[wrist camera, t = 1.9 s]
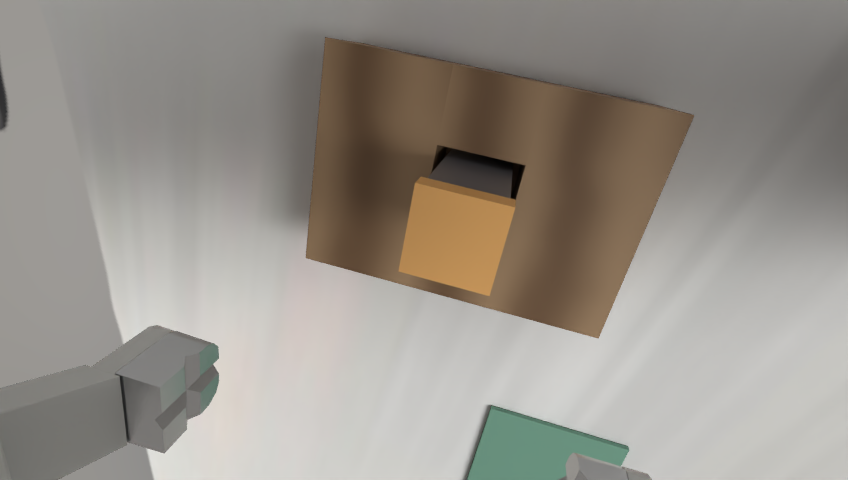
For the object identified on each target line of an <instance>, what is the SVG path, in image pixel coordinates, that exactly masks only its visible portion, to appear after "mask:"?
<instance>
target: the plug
mask: <svg viewBox="0 0 848 480" xmlns="http://www.w3.org/2000/svg"><path fill="white" fill-rule="evenodd" d="M512 172H513V162H509V161H504V160H500V159H496V158H492V157H487V156H483V155H479V154H475V153H470V152H466V151H462V150H458V149H453V148H452V150H451V151H450V152H449V153H448V154H447V155H446V157H445V158H444V159H443V160H442V161H441V163H440V164H439V165H438V166H437V167H436V168H435V170H434V171H433V172H432V173H431V174H430V175H429V177H428V178H425V177H420V178H419V179H418V180H417V181H416V182H415V185H414V191H413V196H412V201H411V207H410V212H409V217H408V223H407V228H406V233H405V239H404V244H403V249H402V255H401V260H400V265H399V272H402V273H406V274H410V275H413V276H417V277H421V278H424V279H428V280H432V281H435V282H439V283H443V284H446V285H450V286H454V287H457V288H461V289H465V290H469V291H472V292H476V293H480V294H483V295H487V296H490V293H491V289H492V286H493V283H494V279H495V276H496V272H497V269H498V265H499V262H500V259H501V255H502V252H503V248H504V245H505V242H506V238H507V235H508V231H509V228H510V224H511V221H512V218H513V214H514V211H515V205H516V200H515V199H511V185H512Z"/></svg>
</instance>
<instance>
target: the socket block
mask: <svg viewBox="0 0 848 480" xmlns="http://www.w3.org/2000/svg"><path fill="white" fill-rule="evenodd" d="M693 117H694V115H691V114H688V113H684V112H680V111H677V110H673V109H669V108H666V107H662V106H658V105H653V104H648V103H644V102H639V101H634V100H629V99H625V98H620V97H615V96H610V95H606V94H601V93H596V92H591V91H587V90H582V89H577V88H572V87H568V86H563V85H558V84H553V83H549V82H544V81H539V80H534V79H530V78H525V77H520V76H515V75H511V74H506V73H501V72H496V71H492V70H487V69H482V68H477V67H473V66H468V65H463V64H458V63H454V62H449V61H444V60H439V59H435V58H430V57H425V56H420V55H416V54H411V53H406V52H401V51H397V50H392V49H387V48H383V47H378V46H373V45H368V44H364V43H358V42H352V41H345V40H339V39H332V38H326V37H325V46H324V57H323V69H322V80H321V91H320V102H319V114H318V125H317V136H316V148H315V159H314V170H313V181H312V193H311V204H310V215H309V227H308V238H307V249H306V258H308V259H312V260H315V261H319V262H322V263H326V264H330V265H333V266H337V267H341V268H344V269H348V270H352V271H355V272H359V273H362V274H366V275H370V276H373V277H377V278H381V279H384V280H388V281H392V282H395V283H399V284H402V285H406V286H410V287H413V288H417V289H421V290H424V291H428V292H431V293H435V294H439V295H442V296H446V297H450V298H453V299H457V300H461V301H464V302H468V303H471V304H475V305H479V306H482V307H486V308H490V309H493V310H497V311H501V312H504V313H508V314H511V315H515V316H519V317H522V318H526V319H530V320H533V321H537V322H540V323H544V324H548V325H551V326H555V327H559V328H562V329H566V330H570V331H573V332H577V333H580V334H584V335H588V336H591V337H595V338H599V336H600V333H601V331H602V329H603V326H604V324H605V322H606V319H607V317H608V315H609V313H610V310H611V308H612V306H613V303H614V301H615V299H616V296H617V294H618V292H619V289H620V287H621V285H622V282H623V280H624V278H625V275H626V273H627V271H628V268H629V266H630V264H631V261H632V259H633V257H634V254H635V252H636V250H637V247H638V245H639V243H640V241H641V238H642V236H643V234H644V231H645V229H646V227H647V224H648V222H649V220H650V217H651V215H652V213H653V210H654V208H655V206H656V203H657V201H658V199H659V196H660V194H661V192H662V189H663V187H664V185H665V182H666V180H667V178H668V175H669V173H670V171H671V169H672V166H673V164H674V162H675V159H676V157H677V155H678V152H679V150H680V148H681V145H682V143H683V141H684V138H685V136H686V134H687V131H688V129H689V127H690V124H691V122H692V120H693ZM452 148H453V149H458V150H462V151H466V152H470V153H475V154H479V155H483V156H487V157H492V158H496V159H500V160H504V161H509V162H513V172H512V185H511V199H515V200H516V205H515V211H514V214H513V218H512V221H511V224H510V228H509V231H508V235H507V238H506V242H505V245H504V248H503V252H502V255H501V259H500V262H499V265H498V269H497V272H496V276H495V279H494V283H493V286H492V289H491V293H490V296H487V295H483V294H480V293H476V292H472V291H469V290H465V289H461V288H457V287H454V286H450V285H446V284H443V283H439V282H435V281H432V280H428V279H424V278H421V277H417V276H413V275H410V274H406V273H402V272H399V265H400V260H401V255H402V249H403V244H404V239H405V233H406V228H407V223H408V217H409V212H410V207H411V201H412V196H413V191H414V185H415V182H416V181H417V180H418V179H419V178H420V177H425V178H428V177H429V175H430V174H431V173H432V172H433V171H434V170H435V168H436V167H437V166H438V165H439V164H440V163H441V161H442V160H443V159H444V158H445V157H446V155H447V154H448V153H449V152H450V151H451V150H452Z"/></svg>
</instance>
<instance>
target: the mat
mask: <svg viewBox="0 0 848 480" xmlns="http://www.w3.org/2000/svg"><path fill="white" fill-rule="evenodd" d="M573 452H574V453H577V454H581V455H584V456H587V457H591V458H594V459H598V460H601V461H604V462H608V463H611V464H615V465H618V466H620V467H621V465H622V463H623V461H624V459H625V457H626V455H627V453H628V452H629V448H628V446H625V445H621V444H618V443H615V442H611V441H608V440H605V439H601V438H598V437H595V436H591V435H588V434H585V433H581V432H578V431H575V430H571V429H568V428H565V427H562V426H558V425H555V424H552V423H548V422H545V421H542V420H538V419H535V418H532V417H528V416H525V415H522V414H518V413H515V412H512V411H508V410H505V409H502V408H498V407H495V406H492V405H491V408H490V411H489V414H488V417H487V420H486V423H485V426H484V429H483V432H482V435H481V438H480V441H479V444H478V447H477V450H476V453H475V456H474V459H473V462H472V465H471V468H470V471H469V474H468V477H467V480H559V479H561V478H563V477H565V476H567V475H566V467H565V464H566V462H567V460H568V458H569V456H570V455H571V454H572V453H573Z"/></svg>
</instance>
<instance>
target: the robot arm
mask: <svg viewBox="0 0 848 480" xmlns="http://www.w3.org/2000/svg"><path fill="white" fill-rule="evenodd" d="M218 359H219V352H218V346H217V345H215V344H214V343H211V342H208V341H205V340H202V339H199V338H196V337H193V336H190V335H187V334H184V333H181V332H178V331H173V330H170V329H167V328H164V327H161V326H158V325H155V326H150V327H148V328H147V329H145V330H144V331H142V332H141V333H139V334H138V335H137V336H135V337H134V338H132V339H131V340H129V341H128V342H126V343H125V344H123V345H122V346H121V347H119V348H118V349H116V350H115V351H114V352H112V353H111V354H109V355H108V356H106V357H105V358H103V359H102V360H100V361H99V362H97V363H96V364H95V365H93V366H92V367H90V366H86V365H83V366H79V367H76V368H72V369H68V370H65V371H61V372H57V373H54V374H50V375H46V376H43V377H39V378H36V379H32V380H28V381H24V382H21V383H17V384H13V385H10V386H6V387H2V388H0V480H58V479H60V478H62V477H64V476H66V475H68V474H70V473H72V472H74V471H76V470H78V469H80V468H82V467H84V466H86V465H88V464H90V463H92V462H94V461H96V460H98V459H100V458H102V457H104V456H106V455H108V454H110V453H112V452H114V451H116V450H118V449H120V448H122V447H124V446H126V445H127V442H129V443H132V444H135V445H138V446H142V447H145V448H148V449H152V450H155V451H158V452H161V453H165V452H166V451H167V450H168V449H169V448H170V447H171V446H172V445H173V444H174V443H175V441H176V440H177V439H178V438H179V437H180V436H181V435H182V434H183V433H184V432H185V431H186V430H187V420H188V419H190V418H193V417H195V416H197V415H200V414H201V413H202V412H203V411H204V410H205V409H206V408H207V406H208V405H209V404H210V402H211V400H212V399H213V397H214V395H215V393H216V390H217V386H218V383H219V373H218V372H217V370H216V368H215V367H214V365H213V363H214V362H215V361H217V360H218ZM565 467H566V475H567V476H565V477H563V478H561V479H559V480H652V479H651V478H650V476H649V475H648V474H646V473H643V472H639V471H636V470H632V469H629V468H626V467H620V466H618V465H615V464H611V463H608V462H604V461H601V460H598V459H594V458H591V457H587V456H584V455H581V454H577V453H574V452H573V453H572V454H571V455H570V456H569V458H568V460H567V462H566V464H565Z"/></svg>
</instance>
